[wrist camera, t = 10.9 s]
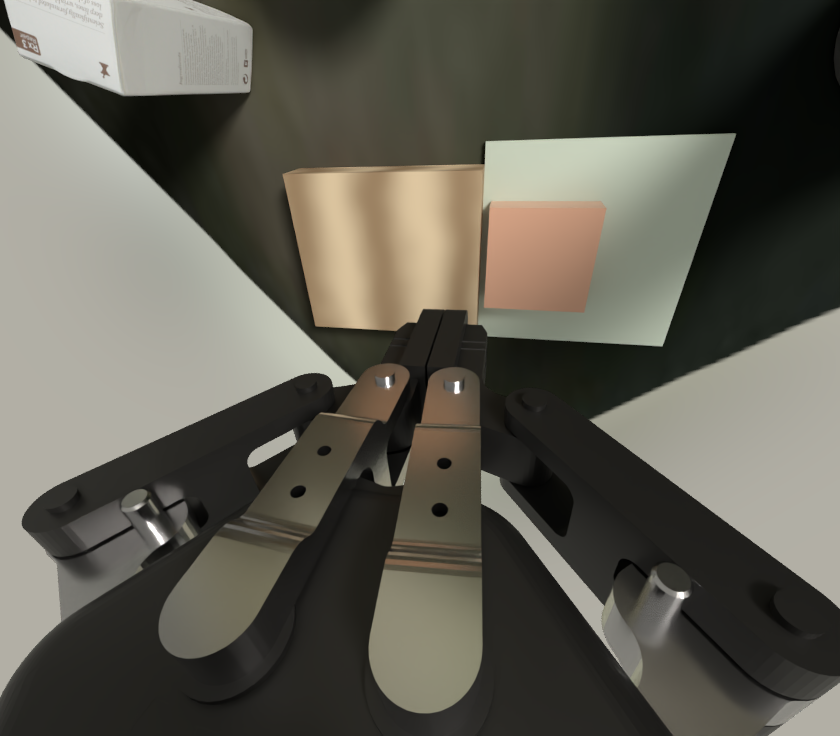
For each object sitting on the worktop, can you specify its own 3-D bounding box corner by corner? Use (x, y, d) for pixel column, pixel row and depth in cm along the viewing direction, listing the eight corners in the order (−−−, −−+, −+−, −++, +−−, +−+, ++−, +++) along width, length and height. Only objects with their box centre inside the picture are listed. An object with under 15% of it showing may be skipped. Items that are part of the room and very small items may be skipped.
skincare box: (254, 23, 28) (112, -16, 18) (252, 97, 30) (127, 100, 21) (171, -9, 28) (-18, -64, 18) (176, 69, 30) (13, 57, 20)
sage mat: (733, 133, 26) (736, 133, 26) (661, 344, 35) (662, 346, 35) (486, 141, 29) (485, 141, 29) (477, 333, 38) (477, 335, 38)
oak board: (485, 164, 30) (482, 170, 27) (478, 319, 37) (475, 335, 35) (299, 168, 32) (282, 174, 30) (327, 312, 40) (315, 326, 37)
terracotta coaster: (601, 201, 29) (606, 208, 27) (580, 301, 34) (584, 312, 32) (491, 201, 31) (489, 207, 29) (485, 296, 35) (483, 307, 33)
